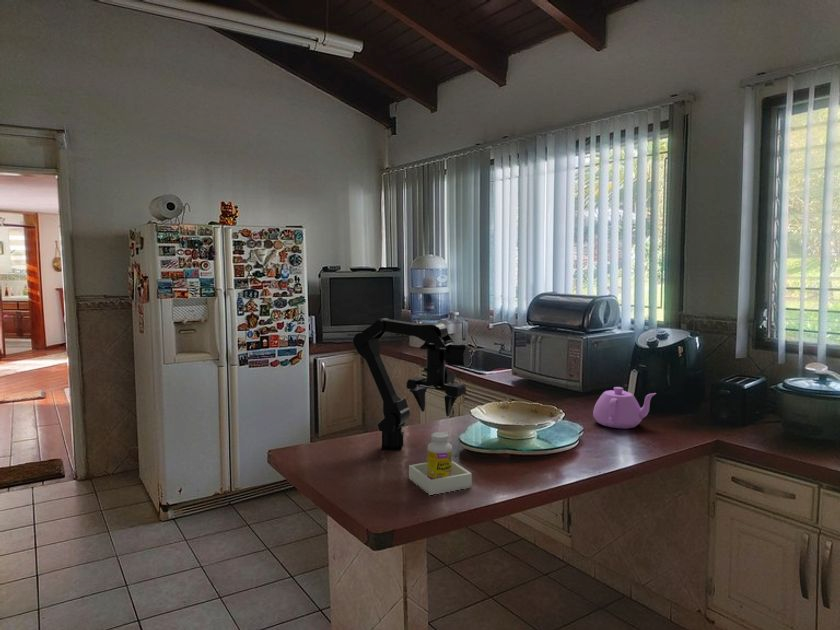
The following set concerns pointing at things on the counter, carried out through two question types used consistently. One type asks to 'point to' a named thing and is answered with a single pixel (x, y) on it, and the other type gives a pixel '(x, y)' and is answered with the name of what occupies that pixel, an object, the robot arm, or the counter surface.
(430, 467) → the supplement bottle
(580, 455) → the counter surface
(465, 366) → the robot arm
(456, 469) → the tote
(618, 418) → the teapot
